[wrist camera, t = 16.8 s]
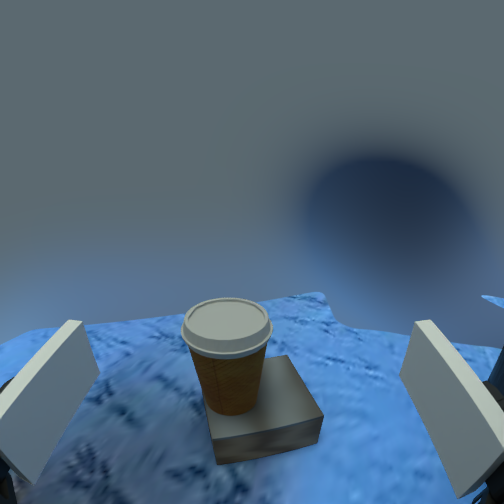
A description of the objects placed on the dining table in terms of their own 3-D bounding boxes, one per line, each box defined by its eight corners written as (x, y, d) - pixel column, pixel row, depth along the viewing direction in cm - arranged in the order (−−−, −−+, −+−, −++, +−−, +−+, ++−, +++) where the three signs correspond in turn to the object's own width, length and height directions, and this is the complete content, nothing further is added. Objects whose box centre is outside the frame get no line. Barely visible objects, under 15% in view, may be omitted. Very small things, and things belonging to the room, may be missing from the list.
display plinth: (284, 383, 44) (287, 354, 42) (317, 443, 32) (323, 415, 30) (203, 397, 41) (198, 368, 39) (217, 465, 29) (212, 439, 27)
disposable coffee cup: (230, 365, 40) (226, 288, 36) (285, 394, 34) (291, 313, 30) (177, 397, 33) (161, 316, 30) (232, 439, 27) (225, 356, 24)
